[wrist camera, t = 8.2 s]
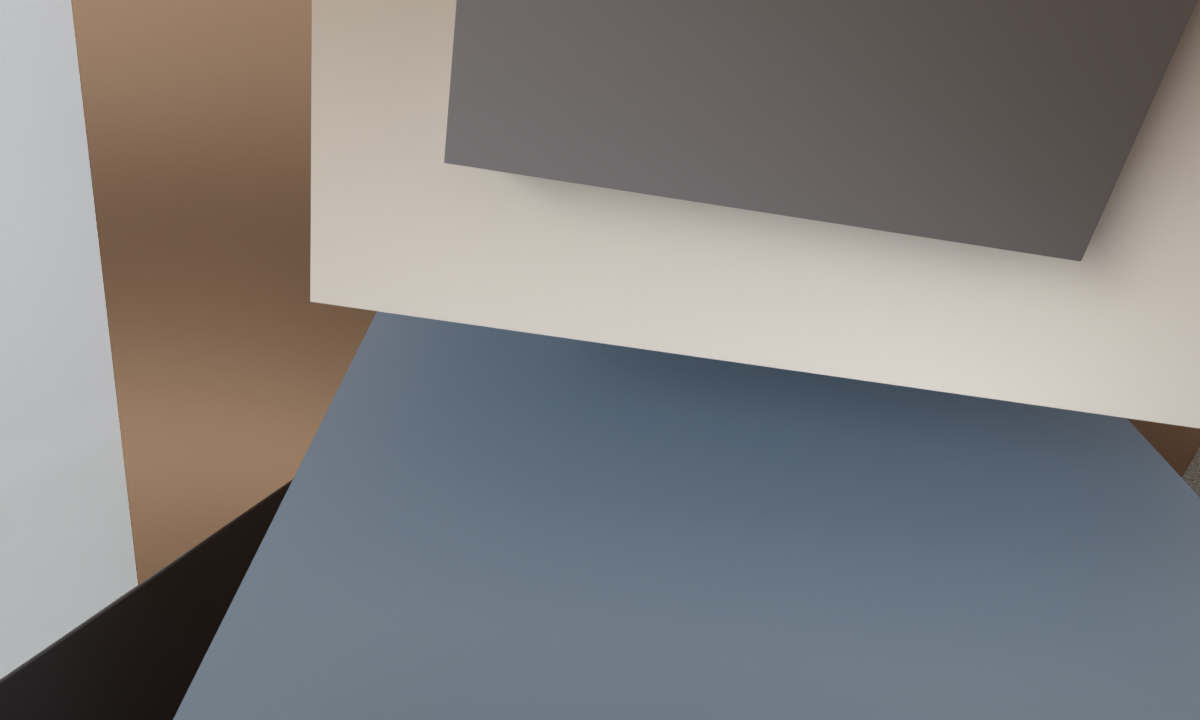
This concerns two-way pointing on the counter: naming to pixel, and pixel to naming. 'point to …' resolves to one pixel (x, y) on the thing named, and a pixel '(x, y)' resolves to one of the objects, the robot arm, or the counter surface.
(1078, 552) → the block
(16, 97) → the counter surface
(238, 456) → the wooden block holder
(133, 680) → the robot arm
